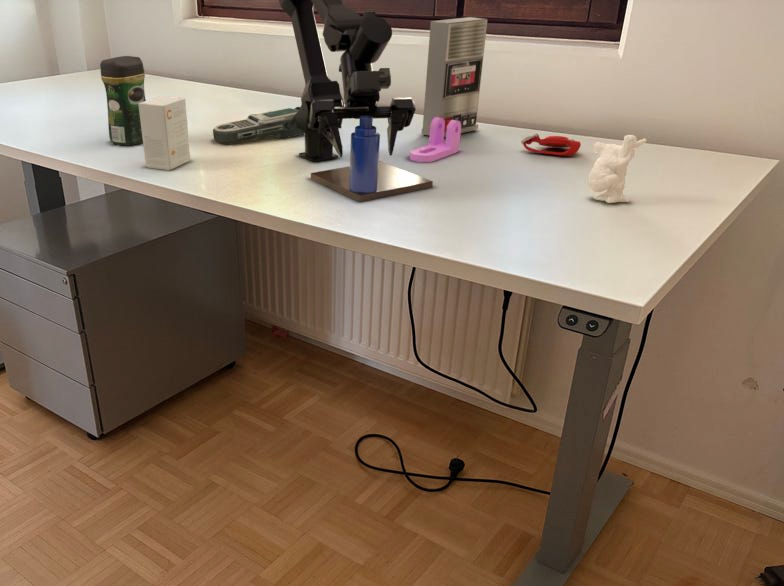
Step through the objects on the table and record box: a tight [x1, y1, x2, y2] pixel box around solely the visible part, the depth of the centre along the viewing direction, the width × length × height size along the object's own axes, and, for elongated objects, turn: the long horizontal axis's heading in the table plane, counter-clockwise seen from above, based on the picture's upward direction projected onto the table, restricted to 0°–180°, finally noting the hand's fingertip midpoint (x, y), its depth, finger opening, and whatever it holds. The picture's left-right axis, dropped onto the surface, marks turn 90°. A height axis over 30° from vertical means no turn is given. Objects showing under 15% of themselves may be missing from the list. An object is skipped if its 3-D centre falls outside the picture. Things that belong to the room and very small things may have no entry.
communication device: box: [212, 106, 305, 145], centre depth 176 cm, size 12×24×9 cm, turn 117°
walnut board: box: [310, 160, 434, 203], centre depth 145 cm, size 17×17×1 cm
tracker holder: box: [520, 133, 582, 157], centre depth 163 cm, size 12×4×10 cm
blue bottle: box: [349, 116, 381, 193], centre depth 134 cm, size 5×5×13 cm
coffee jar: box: [99, 55, 147, 146], centre depth 169 cm, size 10×8×19 cm
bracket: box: [409, 117, 462, 163], centre depth 161 cm, size 13×6×7 cm, turn 139°
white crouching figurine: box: [588, 134, 647, 204], centre depth 132 cm, size 8×7×12 cm
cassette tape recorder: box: [420, 16, 489, 138], centre depth 174 cm, size 14×6×25 cm, turn 129°
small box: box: [138, 95, 191, 171], centre depth 154 cm, size 8×6×13 cm
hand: (366, 155), depth 133 cm, fingers open, 9 cm apart
